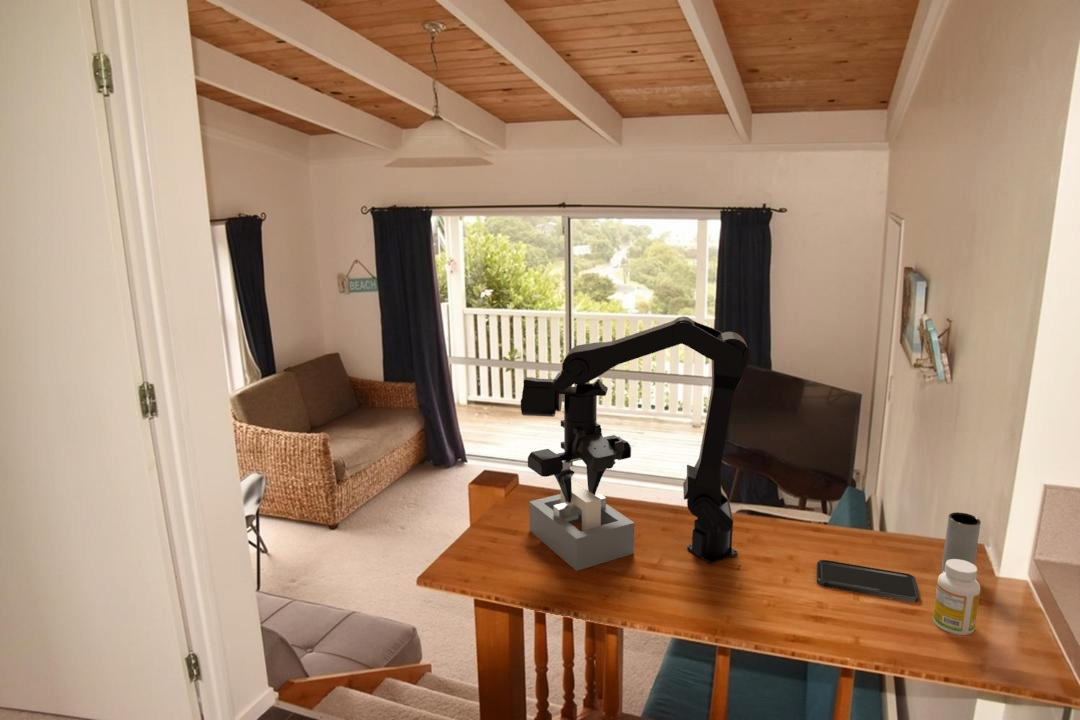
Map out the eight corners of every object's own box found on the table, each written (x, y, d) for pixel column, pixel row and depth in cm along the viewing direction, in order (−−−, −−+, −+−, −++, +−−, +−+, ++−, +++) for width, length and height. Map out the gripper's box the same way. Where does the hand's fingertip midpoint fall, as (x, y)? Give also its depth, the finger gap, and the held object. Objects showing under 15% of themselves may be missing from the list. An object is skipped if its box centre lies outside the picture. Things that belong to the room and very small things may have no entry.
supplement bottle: (959, 613, 106) (968, 555, 104) (982, 635, 101) (992, 574, 99) (924, 614, 106) (932, 556, 104) (946, 636, 101) (954, 575, 99)
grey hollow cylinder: (976, 583, 114) (985, 525, 112) (946, 580, 115) (954, 523, 113) (966, 569, 119) (974, 513, 116) (937, 566, 120) (944, 511, 117)
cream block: (574, 515, 133) (574, 481, 132) (600, 535, 126) (600, 498, 124) (560, 519, 132) (560, 484, 130) (586, 539, 124) (586, 502, 123)
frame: (583, 516, 140) (583, 488, 138) (633, 553, 125) (634, 522, 124) (529, 530, 134) (529, 501, 133) (576, 571, 120) (576, 538, 118)
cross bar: (599, 503, 131) (600, 493, 131) (605, 507, 130) (606, 497, 129) (553, 515, 127) (553, 505, 126) (559, 520, 125) (559, 509, 125)
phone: (817, 558, 121) (914, 574, 116) (816, 564, 122) (913, 580, 116) (816, 581, 114) (920, 599, 109) (816, 587, 114) (919, 606, 109)
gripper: (557, 440, 113) (558, 529, 116) (650, 421, 121) (648, 504, 125) (525, 421, 122) (527, 503, 126) (614, 405, 131) (613, 482, 135)
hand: (580, 499), depth 128 cm, fingers open, 5 cm apart
